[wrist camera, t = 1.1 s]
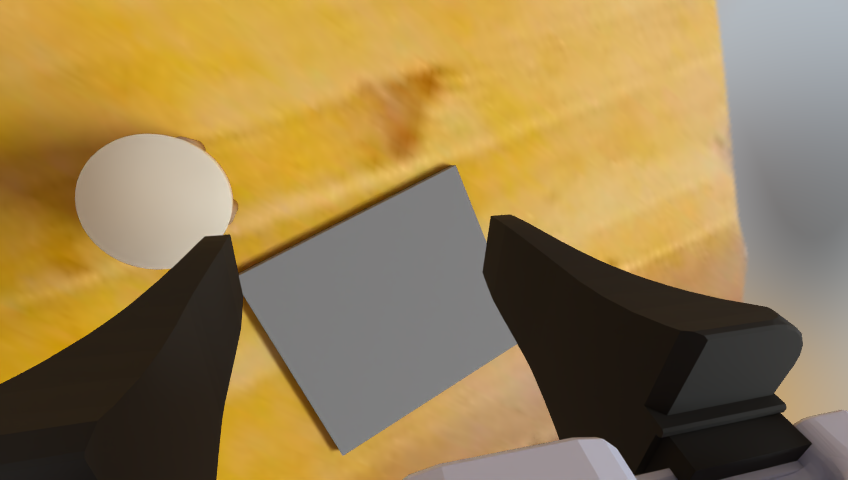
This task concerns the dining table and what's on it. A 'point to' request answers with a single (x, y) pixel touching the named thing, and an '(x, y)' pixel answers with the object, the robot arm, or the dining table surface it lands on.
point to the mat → (382, 308)
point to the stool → (153, 199)
